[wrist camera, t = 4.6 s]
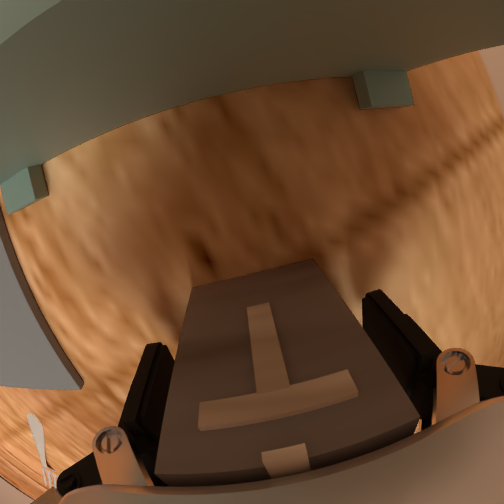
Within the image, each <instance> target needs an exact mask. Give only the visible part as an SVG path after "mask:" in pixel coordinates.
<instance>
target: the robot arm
mask: <svg viewBox="0 0 504 504" xmlns="http://www.w3.org/2000/svg"><path fill="white" fill-rule="evenodd" d="M362 317H363V329H364V330H365V332H366V333H367V335H368V336H369V338H370V339H371V341H372V342H373V344H374V345H375V347H376V348H377V350H378V351H379V353H380V354H381V356H382V357H383V359H384V360H385V362H386V363H387V365H388V366H389V368H390V369H391V371H392V372H393V374H394V375H395V377H396V379H397V380H398V382H399V383H400V385H401V386H402V388H403V390H404V391H405V393H406V394H407V396H408V397H409V399H410V401H411V402H412V404H413V405H414V407H415V409H416V410H417V412H418V414H419V415H420V420H419V430H418V433H416V434H413V435H411V436H409V437H407V438H405V439H402V440H400V441H398V442H395V443H393V444H391V445H388V446H386V447H383V448H381V449H378V450H376V451H373V452H371V453H368V454H365V455H362V456H359V457H356V458H353V459H350V460H347V461H344V462H341V463H338V464H334V465H331V466H327V467H324V468H320V469H316V470H312V471H308V472H304V473H300V474H295V475H290V476H285V477H280V478H275V479H269V480H262V481H256V482H248V483H240V484H230V485H217V486H198V487H170V486H168V485H167V484H166V483H165V482H164V481H162V480H161V479H160V478H159V477H158V476H156V475H155V474H154V472H155V465H156V459H157V452H158V446H159V440H160V435H161V429H162V423H163V418H164V412H165V407H166V402H167V397H168V392H169V387H170V382H171V377H172V372H173V368H174V363H175V361H174V359H173V357H172V355H171V353H170V351H169V349H168V347H167V346H166V345H162V343H161V342H157V343H151V344H147V345H146V346H145V349H144V352H143V355H142V357H141V360H140V363H139V366H138V369H137V371H136V374H135V377H134V379H133V381H132V384H131V387H130V390H129V393H128V396H127V399H126V402H125V405H124V409H123V412H122V415H121V418H120V421H119V425H118V427H116V426H109V427H106V428H104V429H102V430H100V431H99V432H98V433H97V434H96V436H95V437H94V439H93V443H92V447H93V452H92V453H91V454H89V455H88V456H86V457H85V458H83V459H82V460H80V461H79V462H77V463H75V464H74V465H72V466H71V467H69V468H68V469H66V470H64V471H63V472H62V473H61V474H60V475H59V477H58V479H57V483H56V487H57V488H55V487H51V488H50V489H49V490H48V491H46V492H45V493H44V494H43V495H41V496H40V497H39V498H37V499H36V500H35V501H34V502H32V503H31V504H504V368H501V367H492V366H484V365H476V364H475V361H474V358H473V356H472V355H471V354H470V353H469V352H468V351H466V350H464V349H461V348H450V349H447V350H445V351H443V352H442V351H441V350H440V349H439V348H438V347H437V346H436V344H435V343H434V342H433V341H432V340H431V339H430V338H429V337H428V336H427V335H426V333H425V332H424V331H423V330H422V329H421V328H420V327H419V326H418V325H417V324H416V323H415V322H414V321H413V319H412V318H411V317H410V316H408V315H407V314H404V313H403V312H402V311H401V310H400V309H399V308H398V307H397V306H396V305H395V304H394V303H393V302H392V301H391V300H390V299H389V298H388V297H387V296H386V295H385V294H384V292H383V291H382V290H380V289H378V290H375V291H372V292H369V293H367V294H366V297H365V298H363V299H362Z"/></svg>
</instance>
